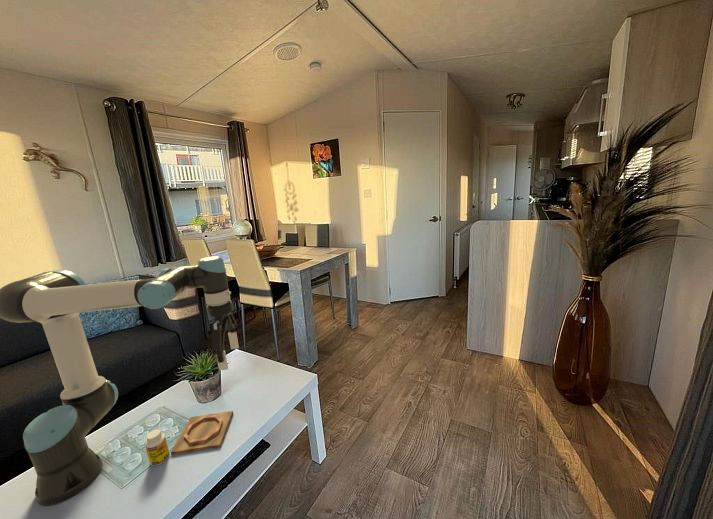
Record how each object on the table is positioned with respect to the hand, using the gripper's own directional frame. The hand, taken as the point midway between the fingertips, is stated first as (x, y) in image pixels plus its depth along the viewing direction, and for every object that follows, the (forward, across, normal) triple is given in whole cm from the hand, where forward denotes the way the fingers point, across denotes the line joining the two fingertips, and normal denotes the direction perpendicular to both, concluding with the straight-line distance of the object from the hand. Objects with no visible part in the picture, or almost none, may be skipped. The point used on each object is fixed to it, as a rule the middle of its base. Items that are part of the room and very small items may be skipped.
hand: (229, 358), depth 105 cm
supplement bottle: (+28, -10, +24) cm, 39 cm away
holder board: (+28, -1, +13) cm, 31 cm away
